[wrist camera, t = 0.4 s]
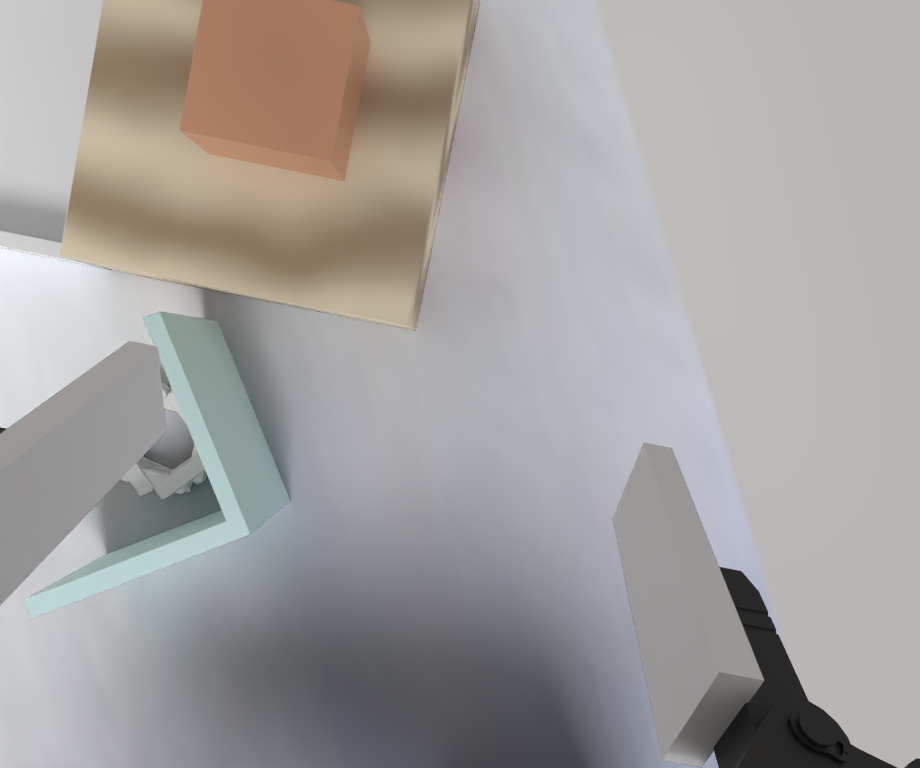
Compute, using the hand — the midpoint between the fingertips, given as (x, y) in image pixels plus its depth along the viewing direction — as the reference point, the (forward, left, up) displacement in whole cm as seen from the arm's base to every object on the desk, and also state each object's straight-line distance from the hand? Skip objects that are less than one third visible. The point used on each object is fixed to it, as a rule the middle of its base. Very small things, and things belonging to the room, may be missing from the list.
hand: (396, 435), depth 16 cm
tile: (+14, +10, -14) cm, 22 cm away
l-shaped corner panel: (-7, +16, -21) cm, 27 cm away
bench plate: (+14, +11, -20) cm, 26 cm away
